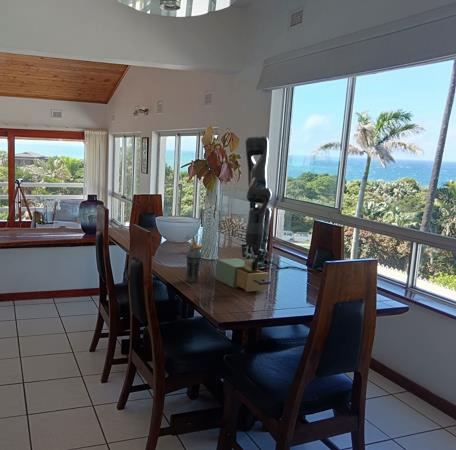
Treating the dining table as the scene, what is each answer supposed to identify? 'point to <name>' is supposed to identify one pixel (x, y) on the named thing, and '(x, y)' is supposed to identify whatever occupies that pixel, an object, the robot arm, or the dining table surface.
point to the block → (249, 264)
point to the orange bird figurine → (193, 244)
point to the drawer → (251, 280)
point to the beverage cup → (193, 263)
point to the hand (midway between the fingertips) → (250, 268)
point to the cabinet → (228, 270)
